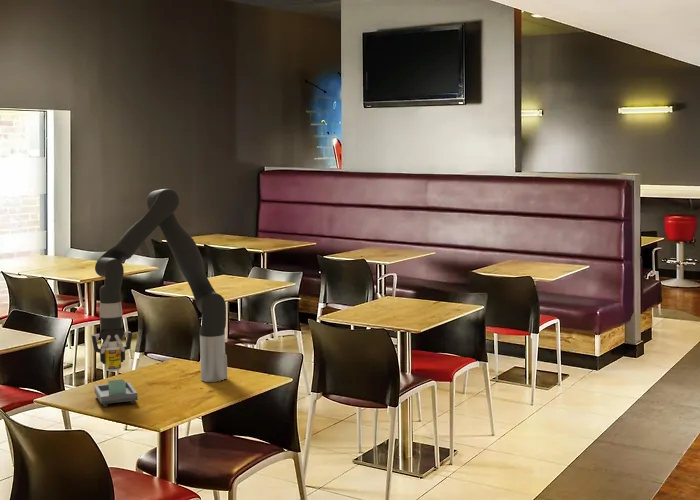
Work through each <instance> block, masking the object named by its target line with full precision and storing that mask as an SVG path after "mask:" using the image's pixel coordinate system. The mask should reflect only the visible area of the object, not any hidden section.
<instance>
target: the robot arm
mask: <svg viewBox="0 0 700 500" xmlns="http://www.w3.org/2000/svg"><path fill="white" fill-rule="evenodd" d="M146 205H147V209H148V211H147V212H146V213H145V214H144V215H143V216H142V217H141V218H140V219H139V220H137V222H135V223H134V224H132V226H130V227H129V228H128V229H127V230H126V231H125V232H124V233H123V235H122V236H121V237H120V238H119V239H118V240H117V241H116V243H115V244H114V245H113V246H112V247H110V248H109V249H107V250H106V251H105V252H104V253H102V254H101V255H100V256H99V257H98V259H97V261H96V262H95V265H94V270H95V274H97V275H98V276H99V277H101V278H105V280H104V285H103V284H102V286H100V288H99V326H100V327H99V328H100V329H99V333H96V334H91V335H90V338H91V343H92V346H93V350H94V352H95V353H99V360H100V362H101V363H102V365H105V353H104V351H105V349H106V347H107V345H108V342H112V341H117V342H118V345H119V346H120V348H121V363H124V361H125V360H126V351H128V350H130V349H131V345H132V338H133V333H132V332H131V330H130V331H124V328H123V327H124V325H123V324H124V323H123V307H122V306H123V305H122V296H121V294H122V293H121V288H122V284H123V278H124V273H125V271H124V269H125V268H124V266H123V263H122V262H124V261H125V260H129V259H131V258H132V257H133V256H134V255H135V253H136V252H137V251H138V250H139V249H140V247H142V244H143V243H144V242H145V241H146V240H147V239H148V238H149V236H151V234H152V233H153V232H154V231H155V230H156V229H157V228H158V227H159V229H160V230H161V232H162V234H163V237H164V239H165V240H166V242H167V245H168V247H169V249H170V250H171V251H170V252H171V253H172V256H173V258H174V260H175V263H176V264H177V266H178V268H179V270H180V272H181V274H182V276H183V277H184V279H185V281H186V282H187V284H188V285H189V288H190V290H191V293H192V296H193V298H194V301H195V302H194V303H195V305H196V307H197V309H198V311H199V312H200V313H201V325H200V327H199V353H200V354H199V355H200V380H201V381H202V382H206V383H217V381H218V382H222V381H221V380H223V381H225V380H224V379H227V380H228V355H227V354H226V339H225V337H226V336H225V335H226V334H225V333H226V331H225V329H226V325H227V304H226V301H225V298H224V296H222V295H221V294H219V292H218V293H217V291H215V289H214V287H213V285H212V284H211V282H210V280H209V278H208V276H207V273H206V269H205V264H204V260H203V257H202V254H201V252H200V249H199V248H198V246H197V243H196V241H195V240H194V239H193V237H192V236H191V234H189V233H188V231H186V229H185V228H184V227H183V226H182V225H181V224H180V222H179V221H178V219H177V218H176V215H175V211H177V209H178V207H179V205H180V197H179V194H178V193H177V192H176V191H175V190H174V189H170V188H162V189H156V190H153V191H151V192H150V193H149V194H148V195H147V198H146ZM123 337H125V339H126V341H125V345H123V343H122V338H123ZM99 338H100V339H101V340H102V342H101V345H100V348H99V346H98V342H97V341H99Z"/></svg>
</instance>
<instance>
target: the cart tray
mask: <svg viewBox="0 0 700 500" xmlns="http://www.w3.org/2000/svg"><path fill="white" fill-rule="evenodd" d="M125 382H126V393H125V394H117V395H109V385H108V383H107V384H106V383H105V384H98V385H97V384H96V385H93V386H94V387H93V388H94V389H93V390H94V394H95V395H96V398H97V399H98V401H99V403H100V404H101V405H103V408H108V407H109V406H108V405H110V404H115V403H123V402H125V403H126V402H130V405H134V404H135V401H138V400H139V399H138V392H137V391H136V389H135V387H134V386H133V385H132V384H131V382H130V381H125Z"/></svg>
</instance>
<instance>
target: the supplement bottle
mask: <svg viewBox="0 0 700 500" xmlns="http://www.w3.org/2000/svg"><path fill="white" fill-rule="evenodd" d="M104 353H105V364H104V370H105V371H108V372H116V371H119V370H121V369H122V362H121V348H120V346H119V345H118V342H117V341H112V342H108V345H107V347H106V349H105V351H104Z"/></svg>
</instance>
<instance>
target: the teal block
mask: <svg viewBox="0 0 700 500" xmlns="http://www.w3.org/2000/svg"><path fill="white" fill-rule="evenodd" d="M107 382H108V383H107V384H108V385H109V395H117V394H125V393H126V382H127V381H125V380H124V379H123V378H122V379H120V378H119V379H113V380H108V381H107Z"/></svg>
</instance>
